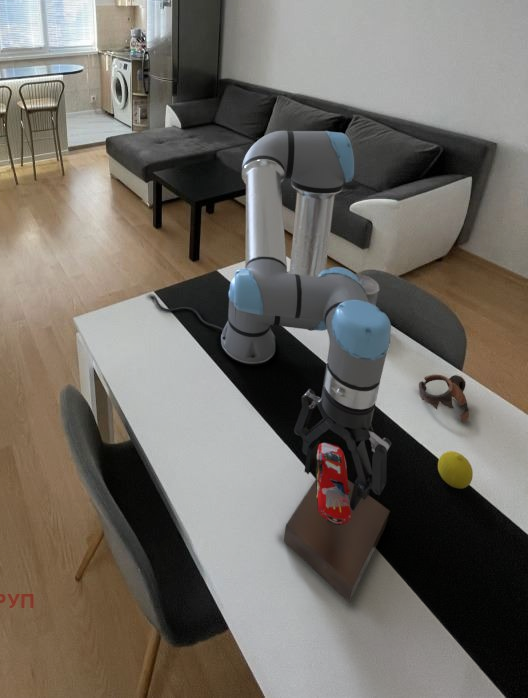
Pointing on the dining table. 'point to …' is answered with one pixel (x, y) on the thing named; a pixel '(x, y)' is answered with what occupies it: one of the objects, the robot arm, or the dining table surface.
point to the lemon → (455, 469)
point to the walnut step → (337, 540)
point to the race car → (332, 485)
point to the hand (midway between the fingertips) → (331, 484)
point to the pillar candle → (369, 288)
